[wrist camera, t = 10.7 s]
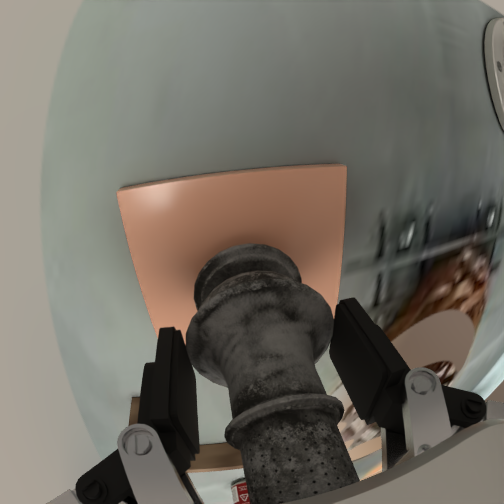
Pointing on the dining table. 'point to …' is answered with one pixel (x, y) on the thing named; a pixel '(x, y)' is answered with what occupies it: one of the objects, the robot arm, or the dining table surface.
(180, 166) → the dining table surface
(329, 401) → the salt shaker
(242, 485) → the soda can
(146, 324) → the dining table surface
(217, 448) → the wooden u-shaped frame
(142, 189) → the tile
